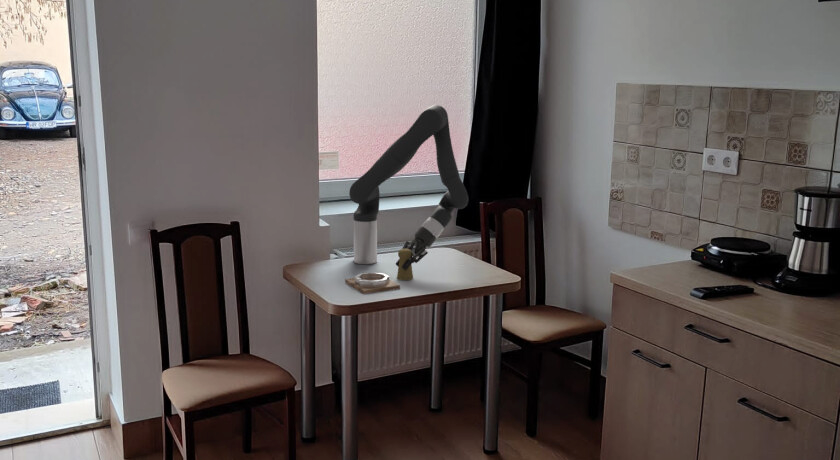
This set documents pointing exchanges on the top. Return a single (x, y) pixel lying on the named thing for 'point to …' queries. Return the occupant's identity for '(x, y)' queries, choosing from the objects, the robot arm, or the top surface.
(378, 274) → the metal collar
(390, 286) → the walnut board
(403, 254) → the olive chess piece
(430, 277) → the top surface
